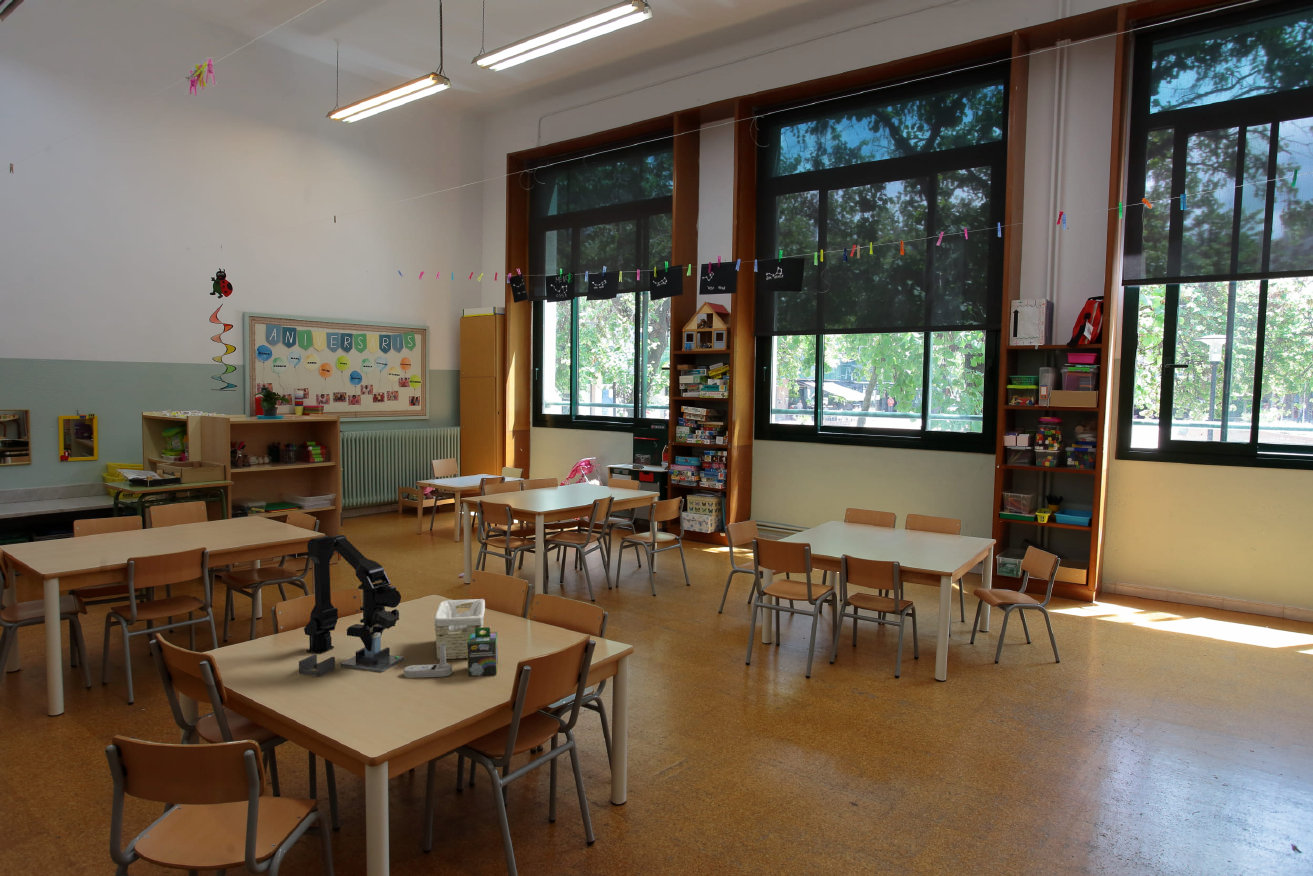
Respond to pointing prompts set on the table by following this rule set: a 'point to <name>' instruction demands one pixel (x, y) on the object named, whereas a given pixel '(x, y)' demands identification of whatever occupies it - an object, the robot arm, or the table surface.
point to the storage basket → (457, 625)
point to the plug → (374, 646)
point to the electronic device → (430, 668)
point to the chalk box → (482, 653)
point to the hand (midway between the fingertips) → (372, 649)
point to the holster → (316, 666)
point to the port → (373, 660)
